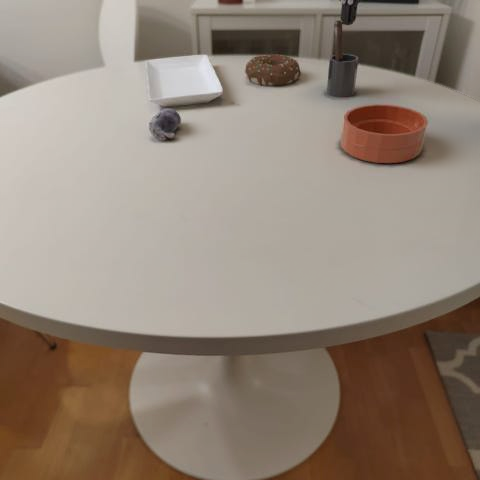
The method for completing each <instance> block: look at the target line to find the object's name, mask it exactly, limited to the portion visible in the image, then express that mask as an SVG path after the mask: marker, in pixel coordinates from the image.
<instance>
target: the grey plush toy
mask: <svg viewBox="0 0 480 480" xmlns="http://www.w3.org/2000/svg"><path fill="white" fill-rule="evenodd" d="M181 123H182V117H181V115H180V113H178V111H177V110H175V109H173V108H171V107H164V108H163V109H161V110H159V111H158V112H157V113H156V114H155V115H154V116H153V117H152V119H151V120H150V122H149V123H148V125H149V126H148V130H149V132H150V134H151V135H152V136H153V137H154V138H155V139H157V140H159V141H161V142H163V141H166V140H168V138H169V139H170V140H173V139H174V138H176V134H175V131H176V130H177V129H178V127H179V126H180V125H181Z"/></svg>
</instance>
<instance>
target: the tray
mask: <svg viewBox="0 0 480 480" xmlns="http://www.w3.org/2000/svg"><path fill="white" fill-rule="evenodd" d="M144 65H145V78H146V86H147V99H148V101H149V102H150V103H152V104H155V105H159V106H161V107H163V108H171V107H179V106H188V105H190V106H191V105H200V104H201V105H202V104H209V103H210V102H211V101H212V100H215V99H217V98H219V97H220V96H222V95H223V94H224V88H223V85H222V83H221V81H220V79H219V75H218V74H217V72H216V70H215V68H214V66H213V64H212V62H211V60H210V58H209V55H208V54H194V55H193V54H192V55H182V56H172V57H163V58H154V59H147V60H145V62H144Z"/></svg>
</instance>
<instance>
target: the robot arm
mask: <svg viewBox="0 0 480 480" xmlns="http://www.w3.org/2000/svg"><path fill="white" fill-rule="evenodd" d="M364 1H365V0H339V2H340V3H341V8H340V9H341V10H340V21H341V22H342V26H343V25H344V26H352V25H353V24H354V22H355V21H356V19H357V11H358V5H359V3H360V2H364Z"/></svg>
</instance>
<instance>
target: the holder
mask: <svg viewBox="0 0 480 480" xmlns="http://www.w3.org/2000/svg"><path fill="white" fill-rule="evenodd" d="M358 67H359V57H358V56H357V55H355V54H349V53H343V61H336V60H335V54H333V55H331V56H329V59H328V68H327V69H328V71H327V79H326V80H327V81H326V82H327V83H326V94H327V95H328V96H329V97H332V98H333V97H334V98H348V97H352V96H353V95H354V94H355V89H356V82H357V75H358Z"/></svg>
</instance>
